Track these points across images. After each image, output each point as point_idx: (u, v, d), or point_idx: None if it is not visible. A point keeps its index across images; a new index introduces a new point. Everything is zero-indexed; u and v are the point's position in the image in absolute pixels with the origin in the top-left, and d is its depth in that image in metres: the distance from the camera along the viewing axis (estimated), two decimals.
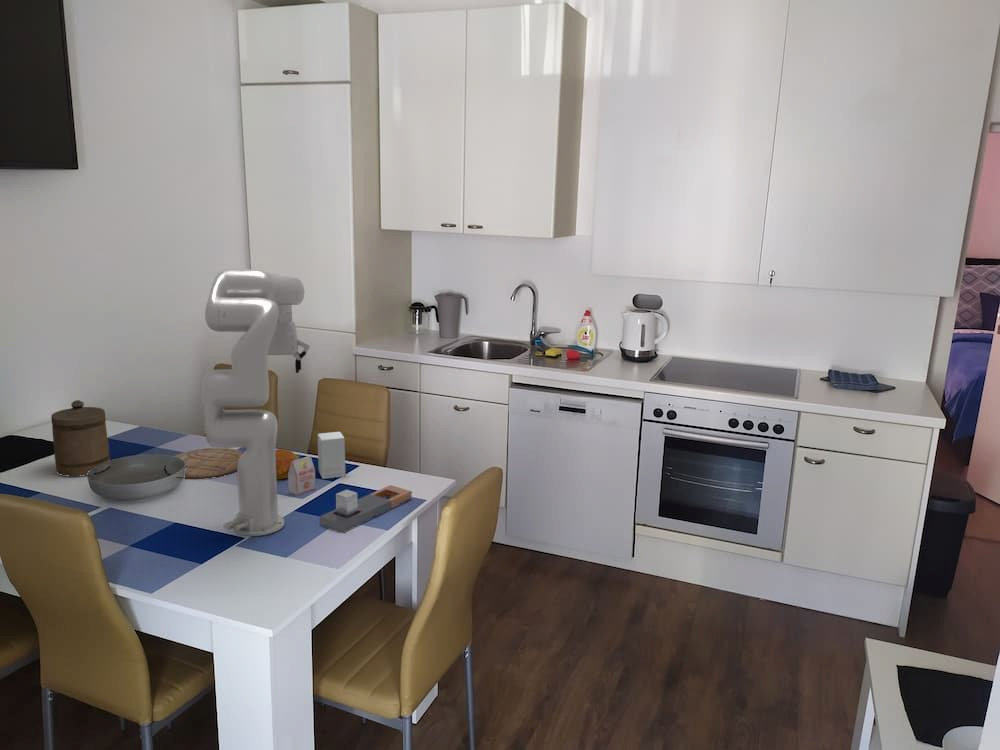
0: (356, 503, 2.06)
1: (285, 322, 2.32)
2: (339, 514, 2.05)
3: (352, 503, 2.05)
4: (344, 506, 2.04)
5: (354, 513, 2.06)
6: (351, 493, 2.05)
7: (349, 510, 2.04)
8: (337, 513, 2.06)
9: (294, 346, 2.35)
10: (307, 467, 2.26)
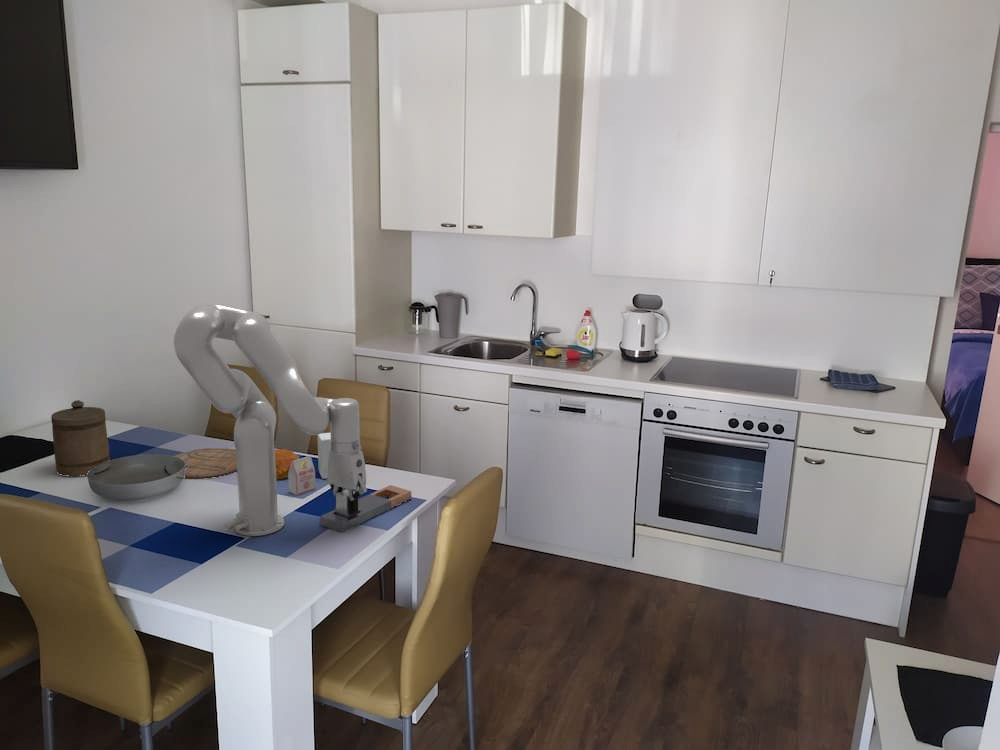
0: None
1: None
2: (339, 514, 2.05)
3: None
4: (344, 506, 2.04)
5: (354, 513, 2.06)
6: None
7: None
8: (337, 513, 2.05)
9: None
10: (307, 467, 2.26)
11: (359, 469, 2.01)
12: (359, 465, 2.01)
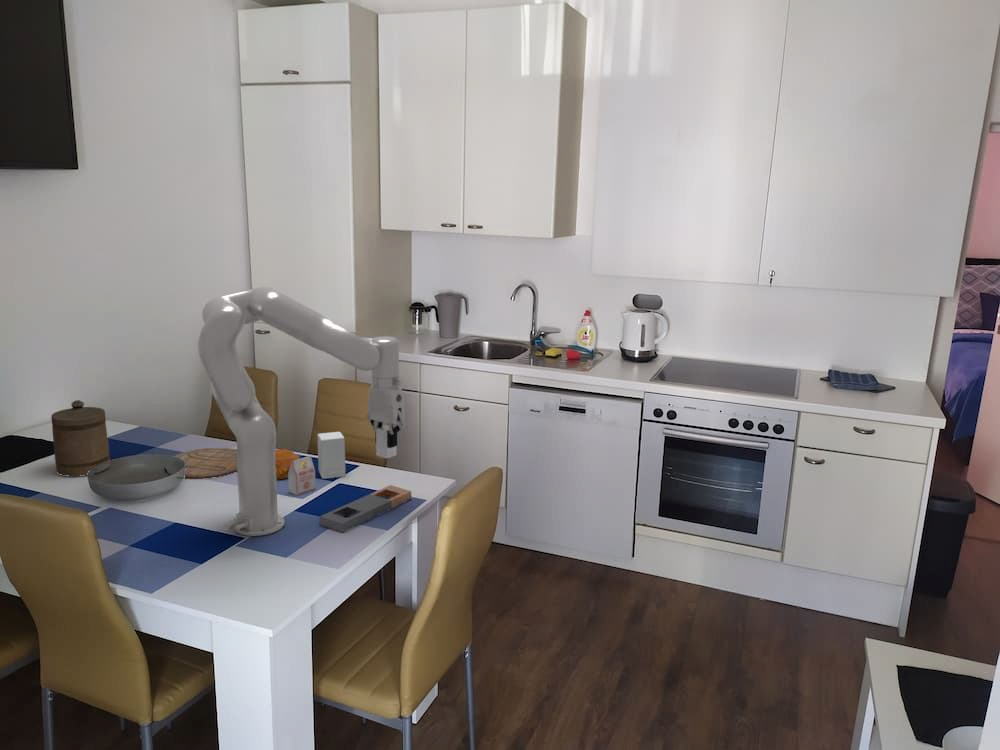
0: None
1: None
2: (379, 448, 2.15)
3: None
4: (384, 440, 2.13)
5: (393, 447, 2.16)
6: None
7: None
8: (377, 447, 2.15)
9: None
10: (307, 467, 2.26)
11: (399, 404, 2.10)
12: (399, 400, 2.11)
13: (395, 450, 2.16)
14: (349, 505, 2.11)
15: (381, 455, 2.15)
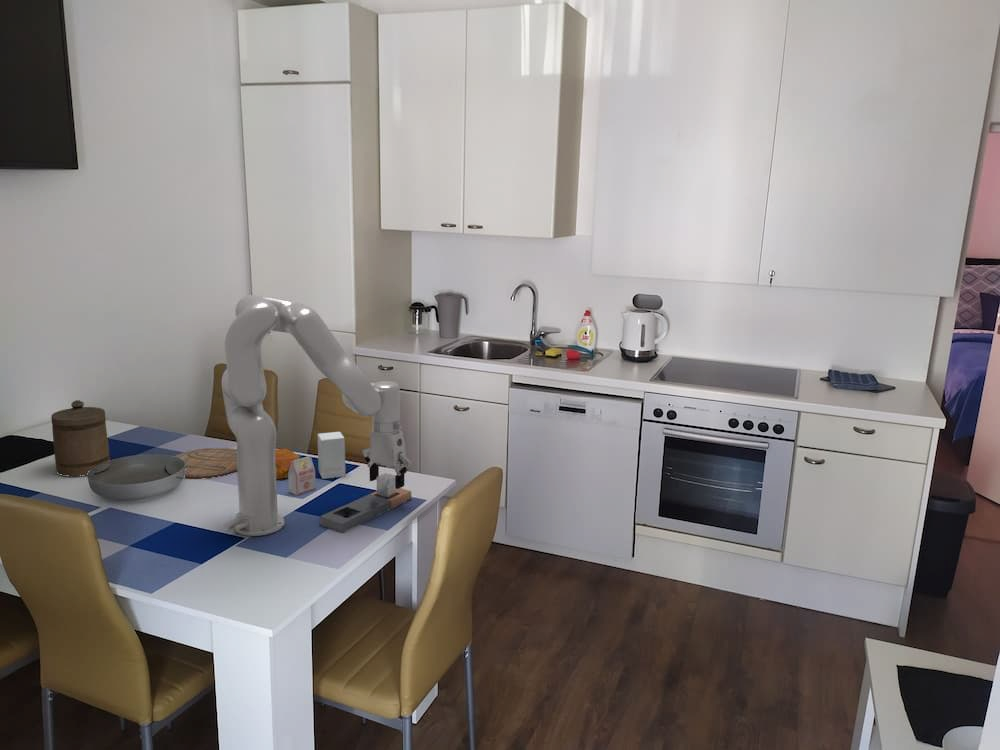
0: None
1: None
2: (379, 496, 2.18)
3: (392, 486, 2.18)
4: (384, 488, 2.17)
5: (393, 495, 2.19)
6: (391, 476, 2.18)
7: (390, 492, 2.17)
8: (377, 495, 2.18)
9: None
10: (307, 467, 2.26)
11: (400, 448, 2.13)
12: (399, 444, 2.14)
13: None
14: (349, 505, 2.11)
15: None
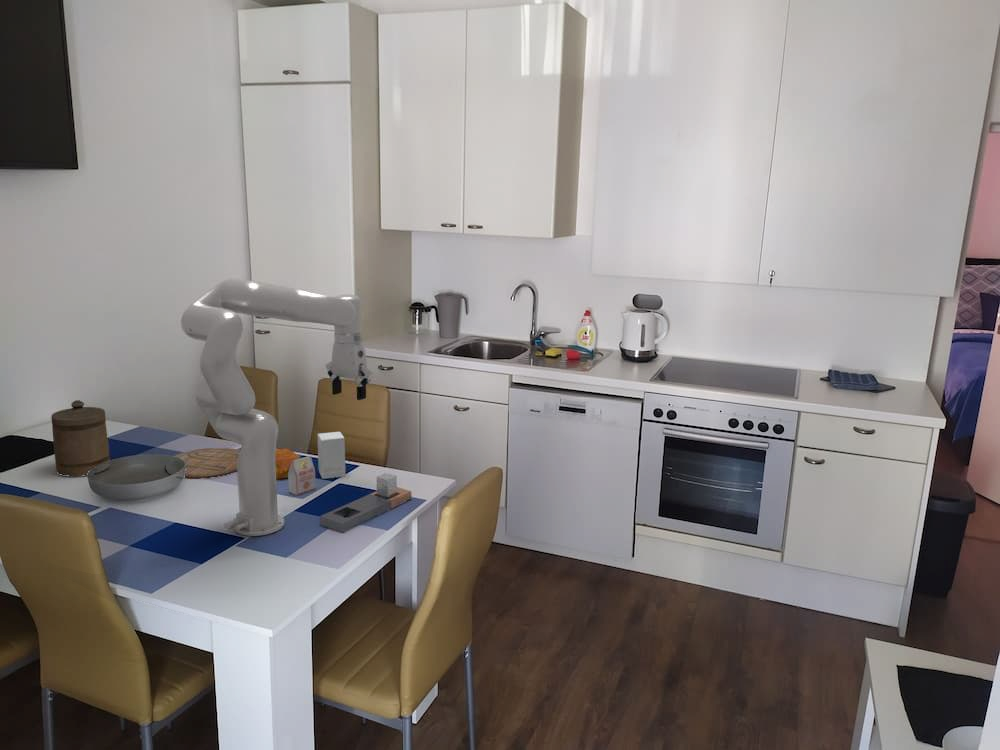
0: (395, 485, 2.19)
1: None
2: (379, 496, 2.18)
3: (392, 486, 2.18)
4: (384, 488, 2.17)
5: (393, 495, 2.19)
6: (391, 476, 2.18)
7: (390, 492, 2.17)
8: (377, 495, 2.18)
9: None
10: (307, 467, 2.26)
11: (361, 360, 2.18)
12: (360, 356, 2.19)
13: None
14: (349, 505, 2.11)
15: None
